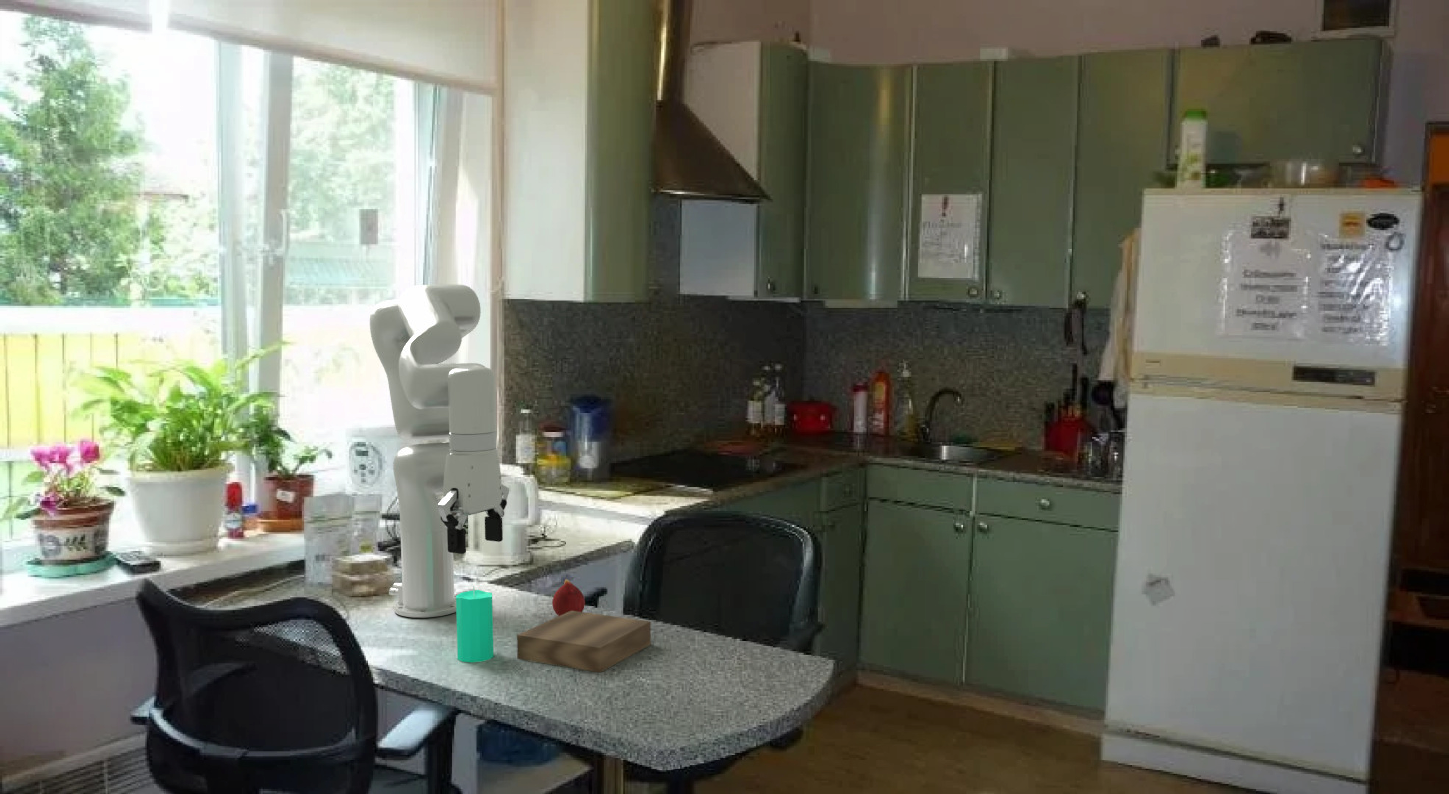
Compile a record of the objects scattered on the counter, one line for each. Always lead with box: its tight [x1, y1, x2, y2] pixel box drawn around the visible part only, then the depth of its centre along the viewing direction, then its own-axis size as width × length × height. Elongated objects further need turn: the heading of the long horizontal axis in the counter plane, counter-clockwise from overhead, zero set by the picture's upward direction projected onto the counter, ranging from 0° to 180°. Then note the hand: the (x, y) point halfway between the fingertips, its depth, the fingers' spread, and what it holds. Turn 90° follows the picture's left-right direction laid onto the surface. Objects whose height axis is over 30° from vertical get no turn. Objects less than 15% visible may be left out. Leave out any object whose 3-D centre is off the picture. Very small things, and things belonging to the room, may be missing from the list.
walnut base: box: [516, 611, 652, 673], centre depth 194 cm, size 16×16×4 cm
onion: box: [551, 578, 586, 617], centre depth 210 cm, size 6×6×8 cm
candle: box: [455, 584, 495, 663], centre depth 191 cm, size 6×6×12 cm
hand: (475, 546), depth 190 cm, fingers open, 9 cm apart
